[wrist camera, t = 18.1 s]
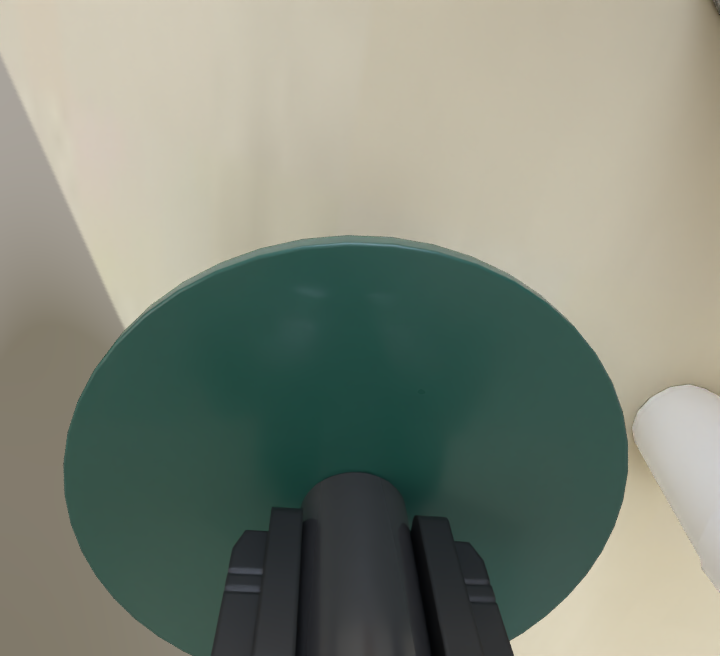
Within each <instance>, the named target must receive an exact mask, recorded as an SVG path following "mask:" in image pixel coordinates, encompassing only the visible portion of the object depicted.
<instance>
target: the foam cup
mask: <svg viewBox="0 0 720 656" xmlns="http://www.w3.org/2000/svg"><path fill="white" fill-rule="evenodd" d="M632 431H633V436H634V441H635V443H636V445H637V446H638V449H639V451H640V453H641V455H642V457H643V458H644V460H645V462H646V464H647V465H648V467H649V469H650V471H651V473H652V474H653V476H654V478H655V480H656V481H657V483H658V485H659V487H660V488H661V490H662V492H663V494H664V496H665V497H666V499H667V501H668V503H669V504H670V506H671V508H672V510H673V512H674V513H675V515H676V517H677V519H678V520H679V522H680V524H681V526H682V528H683V529H684V531H685V533H686V535H687V536H688V538H689V540H690V542H691V543H692V545H693V547H694V549H695V551H696V552H697V554H698V556H699V558H700V561H701V568H702V570H703V571H704V573H705V574H706V575H707V577H708V578H709V579H710V581H711V582H712V583H713V585H714V586H715V587H716V589H717V590H718V592H719V593H720V397H719V396H718V395H716V394H714V393H712V392H709V391H708V390H707V389H705V388H701V387H698V386H694V385H690V384H688V385H681V386H674V387H669V388H667V389H665V390H663V391H661V392H660V393H658V394H656V395H654V396H652V397H651V398H650V399H649V400H648V401H647V402H646V403H645V404H644V405H643V406H642V407H641V408H640V410H639V411H638V412H637V415H636V418H635V420H634V423H633V426H632Z"/></svg>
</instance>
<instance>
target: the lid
mask: <svg viewBox="0 0 720 656" xmlns="http://www.w3.org/2000/svg"><path fill="white" fill-rule="evenodd" d="M63 464H64V491H65V499H66V504H67V508H68V513H69V518H70V523H71V526H72V528H73V531H74V533H75V536H76V538H77V541H78V543H79V546H80V549H81V551H82V553H83V555H84V556H85V558H86V560H87V561H88V563H89V565H90V567H91V568H92V570H93V572H94V573H95V575H96V577H97V578H98V579H99V580H100V582H101V583H102V584H103V585H104V587H105V588H106V589H107V590H108V592H109V593H110V594H111V595H112V597H113V598H114V599H115V600H116V601H117V602H118V603H119V604H120V605H121V606H122V607H123V608H124V609H125V610H126V611H127V612H128V613H129V614H130V615H131V616H132V617H134V618H135V619H136V620H137V621H139V622H140V623H141V624H143V625H144V626H145V627H146V628H148V629H149V630H151V631H152V632H153V633H154V634H156V635H157V636H158V637H160V638H162V639H163V640H165V641H167V642H169V643H170V644H172V645H174V646H175V647H177V648H179V649H180V650H182V651H184V652H186V653H188V654H190V655H192V656H211V652H212V647H213V642H214V637H215V632H216V627H217V622H218V617H219V612H220V607H221V602H222V597H223V592H224V588H225V582H226V577H227V573H228V567H229V562H230V557H231V552H232V548H233V546H234V545H235V544H236V542H237V541H238V539H239V538H240V537H241V535H242V534H243V533H244V531H245V530H258V531H269V524H270V516H271V509H272V507H285V508H303V524H302V542H301V560H300V578H299V596H298V614H297V631H296V649H295V656H432V652H431V646H430V641H429V635H428V629H427V624H426V618H425V612H424V607H423V601H422V595H421V590H420V584H419V578H418V573H417V567H416V561H415V556H414V550H413V545H412V539H411V533H410V531H411V526H412V521H413V518H414V516H415V515H421V516H438V517H447V518H448V520H449V523H450V527H451V530H452V534H453V538H454V541H461V542H470V544H471V545H472V546H473V547H474V549H475V550H476V551H477V552H478V554H479V555H480V556H481V558H482V559H483V560H484V563H485V566H486V569H487V572H488V575H489V579H490V585H491V586H492V588H493V591H494V594H495V598H496V603H497V604H498V607H499V610H500V613H501V617H502V620H503V623H504V626H505V629H506V632H507V636H508V639H509V641H510V640H512V639H514V638H515V637H517V636H519V635H520V634H522V633H524V632H525V631H526V630H528V629H529V628H530V627H532V626H533V625H534V624H536V623H537V622H539V621H540V620H541V619H543V618H544V617H545V616H547V615H548V614H549V613H550V612H551V611H552V610H553V609H554V608H555V607H556V606H558V605H559V604H560V603H561V602H562V601H563V600H564V599H565V598H566V597H567V596H568V595H569V594H570V593H571V592H572V591H573V590H574V588H575V587H576V586H577V585H578V584H579V583H580V582H581V580H582V579H583V578H584V577H585V576H586V574H587V573H588V572H589V570H590V569H591V567H592V566H593V564H594V563H595V561H596V560H597V558H598V557H599V555H600V554H601V552H602V550H603V548H604V546H605V544H606V542H607V540H608V538H609V536H610V534H611V532H612V530H613V528H614V526H615V523H616V520H617V517H618V514H619V511H620V508H621V505H622V502H623V498H624V492H625V486H626V480H627V474H628V440H627V434H626V428H625V422H624V416H623V411H622V408H621V406H620V403H619V400H618V397H617V394H616V391H615V389H614V386H613V383H612V381H611V379H610V377H609V376H608V374H607V372H606V370H605V368H604V367H603V365H602V363H601V361H600V360H599V358H598V356H597V354H596V353H595V352H594V350H593V349H592V348H591V347H590V345H589V344H588V343H587V342H586V340H585V339H584V338H583V337H582V335H581V334H580V333H579V332H578V330H577V329H576V328H575V327H574V326H573V325H572V324H571V323H570V322H569V321H568V319H567V318H565V317H564V316H563V315H562V314H561V313H560V312H559V311H558V310H557V309H555V308H554V307H553V306H552V305H551V304H550V303H549V302H548V301H547V300H546V299H544V298H543V297H542V296H541V295H540V294H538V293H537V292H535V291H534V290H532V289H531V288H529V287H528V286H526V285H525V284H523V283H522V282H520V281H519V280H517V279H516V278H514V277H513V276H511V275H510V274H508V273H506V272H504V271H502V270H500V269H497V268H495V267H493V266H491V265H489V264H487V263H485V262H483V261H481V260H478V259H476V258H474V257H472V256H468V255H465V254H462V253H459V252H456V251H453V250H449V249H446V248H443V247H440V246H437V245H433V244H428V243H422V242H416V241H410V240H405V239H399V238H393V237H375V236H352V235H345V236H334V237H322V238H310V239H301V240H297V241H292V242H288V243H283V244H279V245H274V246H269V247H265V248H260V249H257V250H255V251H252V252H249V253H246V254H244V255H241V256H238V257H235V258H232V259H230V260H227V261H224V262H221V263H219V264H217V265H215V266H213V267H211V268H209V269H207V270H205V271H204V272H202V273H200V274H198V275H196V276H194V277H192V278H190V279H188V280H186V281H184V282H183V283H181V284H180V285H178V286H177V287H176V288H174V289H173V290H171V291H170V292H169V293H167V294H166V295H164V296H163V297H162V298H160V299H159V300H157V301H156V302H155V303H153V304H152V305H150V306H149V307H148V308H147V309H146V310H145V311H144V312H143V313H142V314H141V315H140V316H139V317H138V318H137V319H136V320H135V321H134V322H133V323H132V324H131V325H130V326H129V327H128V328H127V329H126V330H125V331H124V332H123V333H122V334H121V335H120V337H119V338H118V339H117V341H116V342H115V343H114V345H113V346H112V347H111V348H110V350H109V351H108V352H107V354H106V355H105V356H104V358H103V359H102V360H101V362H100V363H99V364H98V366H97V367H96V368H95V370H94V371H93V373H92V375H91V377H90V379H89V381H88V383H87V384H86V386H85V389H84V390H83V392H82V394H81V396H80V398H79V400H78V402H77V405H76V408H75V411H74V415H73V418H72V421H71V424H70V427H69V430H68V434H67V441H66V449H65V456H64V463H63Z"/></svg>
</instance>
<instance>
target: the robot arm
mask: <svg viewBox="0 0 720 656" xmlns="http://www.w3.org/2000/svg"><path fill="white" fill-rule="evenodd" d="M713 1H714V4H715V6H716V8H717V10H718V12H719V14H720V0H713ZM302 524H303V508H285V507H272V509H271V516H270V524H269V531H258V530H245V531H244V533H243V534H242V535H241V537H240V538H239V539H238V541H237V542H236V544H235V545H234V546H233V548H232V552H231V557H230V562H229V567H228V573H227V577H226V582H225V588H224V592H223V597H222V602H221V607H220V612H219V617H218V622H217V627H216V632H215V637H214V642H213V647H212V652H211V656H295V649H296V631H297V614H298V596H299V578H300V560H301V542H302ZM410 533H411V539H412V545H413V550H414V556H415V561H416V567H417V573H418V578H419V584H420V590H421V595H422V601H423V607H424V612H425V618H426V624H427V629H428V635H429V641H430V646H431V652H432V656H514V654H513V651H512V648H511V645H510V642H509V639H508V636H507V632H506V629H505V626H504V623H503V620H502V617H501V613H500V610H499V607H498V604H497V603H496V598H495V594H494V591H493V588H492V586H491V585H490V579H489V575H488V572H487V569H486V566H485V563H484V560H483V559H482V558H481V556H480V555H479V554H478V552H477V551H476V550H475V549H474V547H473V546H472V545H471V544H470V542H461V541H454V538H453V534H452V530H451V527H450V523H449V520H448V518H447V517H438V516H421V515H415V516H414V518H413V521H412V526H411V531H410Z"/></svg>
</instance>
